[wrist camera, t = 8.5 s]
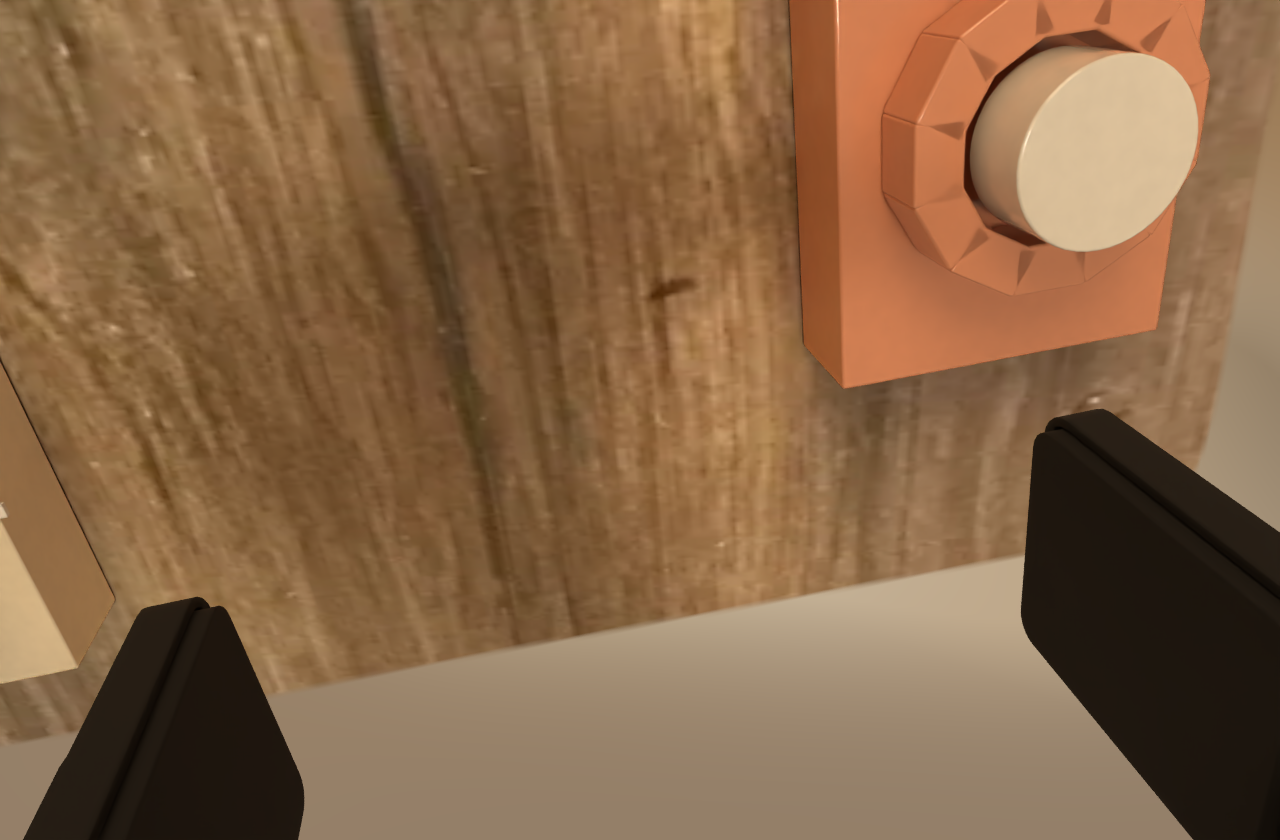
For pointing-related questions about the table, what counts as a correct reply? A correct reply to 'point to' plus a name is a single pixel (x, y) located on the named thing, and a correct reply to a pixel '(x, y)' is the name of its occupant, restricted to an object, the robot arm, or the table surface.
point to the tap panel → (41, 559)
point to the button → (1084, 145)
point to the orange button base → (952, 184)
